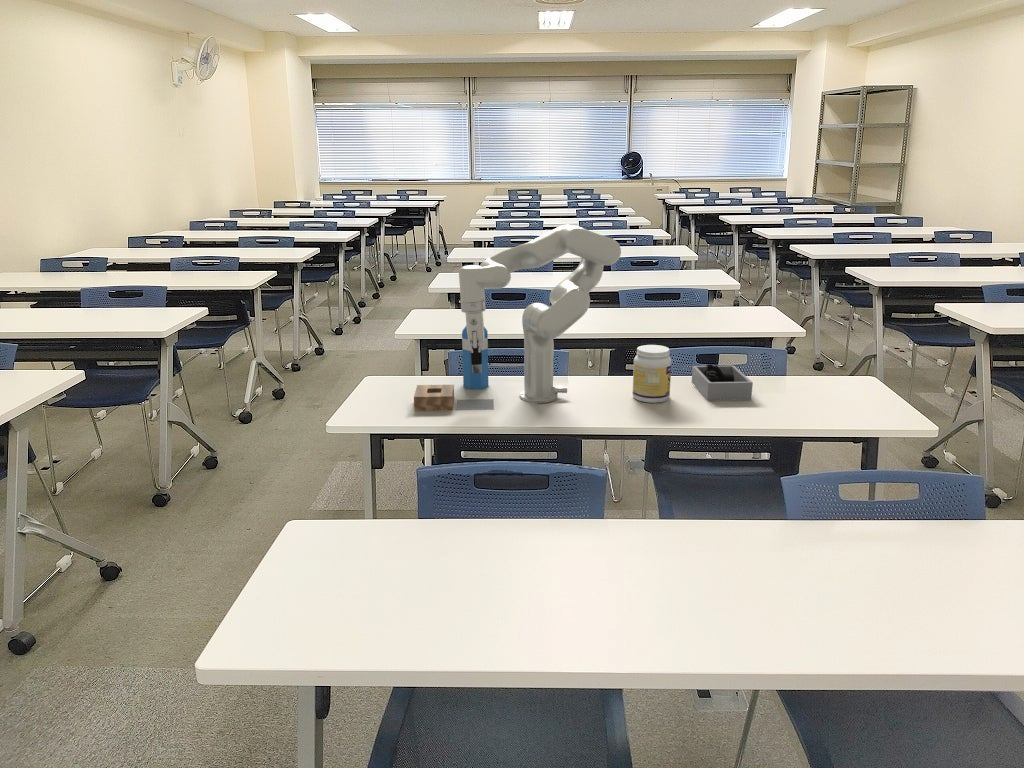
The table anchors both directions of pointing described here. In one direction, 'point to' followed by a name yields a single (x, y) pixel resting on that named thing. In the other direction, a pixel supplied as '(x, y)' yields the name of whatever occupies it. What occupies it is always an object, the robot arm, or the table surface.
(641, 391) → the supplement tub
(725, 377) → the film camera
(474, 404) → the mat
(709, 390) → the tray
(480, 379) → the water bottle
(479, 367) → the peg
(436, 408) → the socket block
